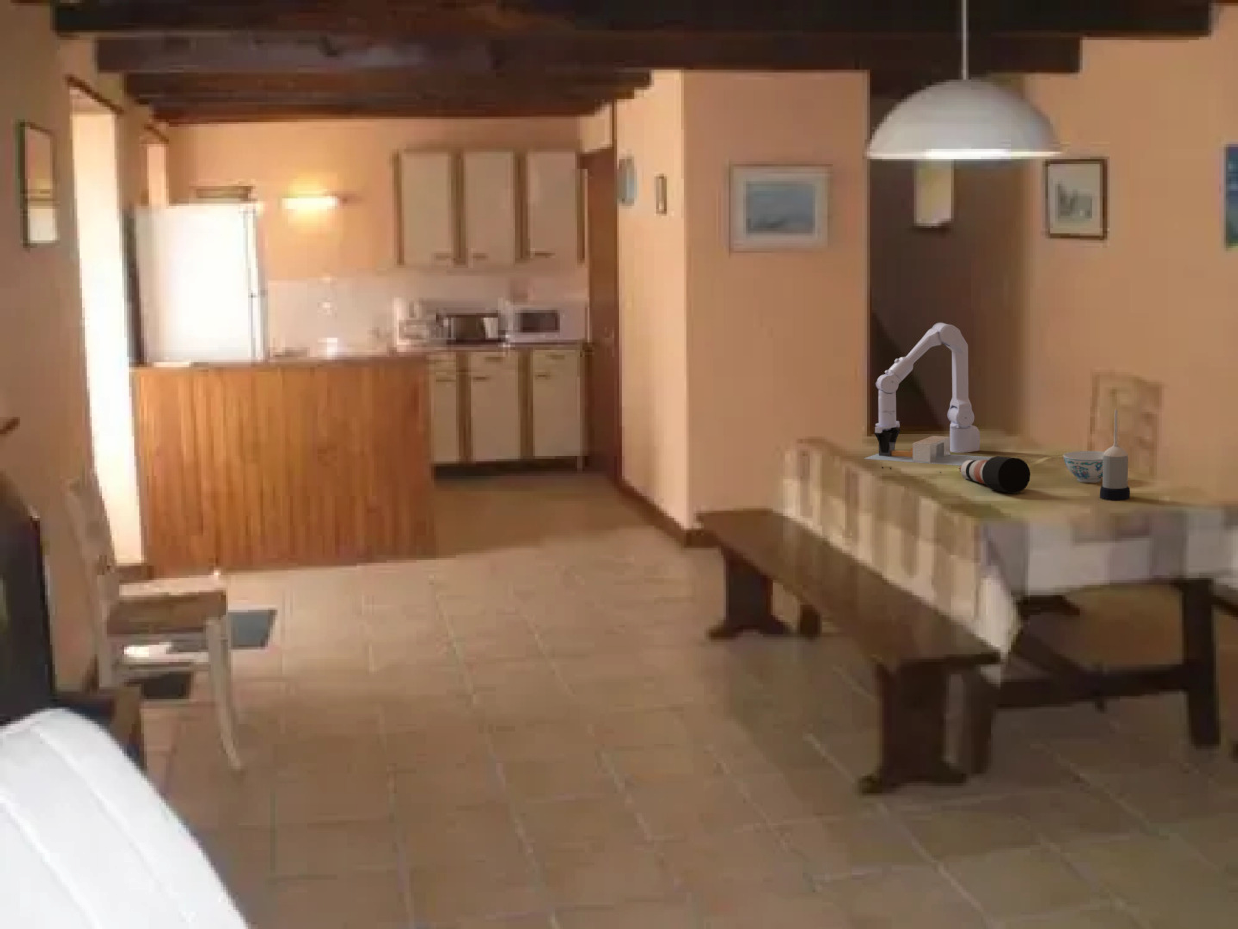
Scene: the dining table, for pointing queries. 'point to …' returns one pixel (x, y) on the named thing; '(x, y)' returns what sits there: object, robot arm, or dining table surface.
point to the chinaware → (1085, 465)
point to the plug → (896, 453)
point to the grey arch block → (931, 449)
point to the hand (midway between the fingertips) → (887, 451)
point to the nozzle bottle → (1115, 471)
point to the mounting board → (939, 460)
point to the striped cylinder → (998, 473)
